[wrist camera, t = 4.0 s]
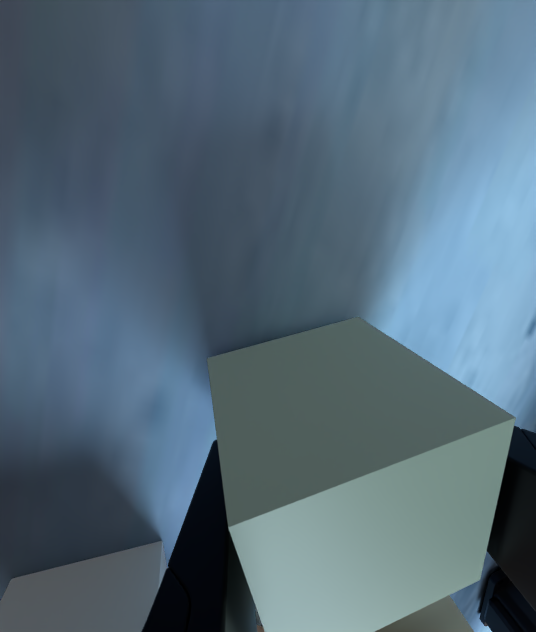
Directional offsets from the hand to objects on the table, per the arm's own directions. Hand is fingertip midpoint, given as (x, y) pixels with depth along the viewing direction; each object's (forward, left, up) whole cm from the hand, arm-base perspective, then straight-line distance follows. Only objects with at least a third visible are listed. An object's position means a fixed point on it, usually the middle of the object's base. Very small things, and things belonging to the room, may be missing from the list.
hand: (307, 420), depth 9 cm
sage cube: (0, 0, -1) cm, 1 cm away
